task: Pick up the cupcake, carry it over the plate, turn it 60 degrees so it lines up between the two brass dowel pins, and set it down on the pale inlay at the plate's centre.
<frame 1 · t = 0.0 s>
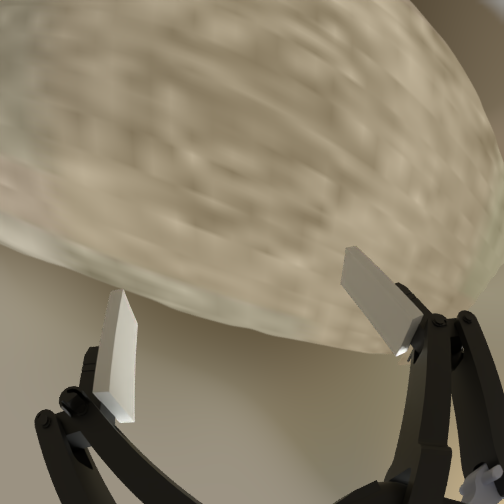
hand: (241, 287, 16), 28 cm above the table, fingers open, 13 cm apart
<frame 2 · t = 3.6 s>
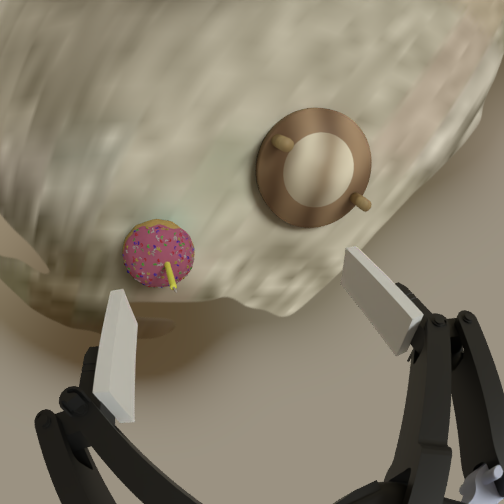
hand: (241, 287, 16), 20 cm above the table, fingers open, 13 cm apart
plate: (315, 167, 35), on the table
cupcake: (160, 236, 35), on the table
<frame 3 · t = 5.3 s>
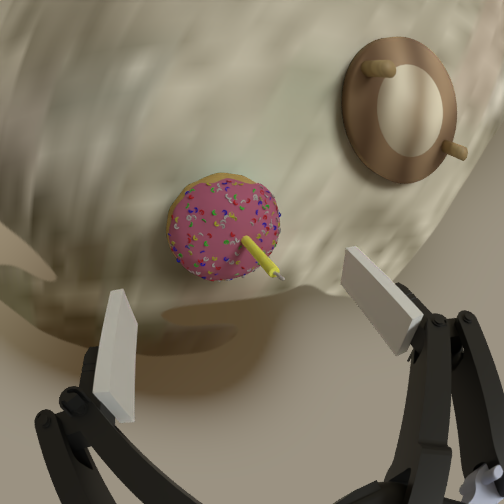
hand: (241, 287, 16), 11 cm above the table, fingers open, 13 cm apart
plate: (404, 109, 23), on the table
cupcake: (216, 207, 25), on the table
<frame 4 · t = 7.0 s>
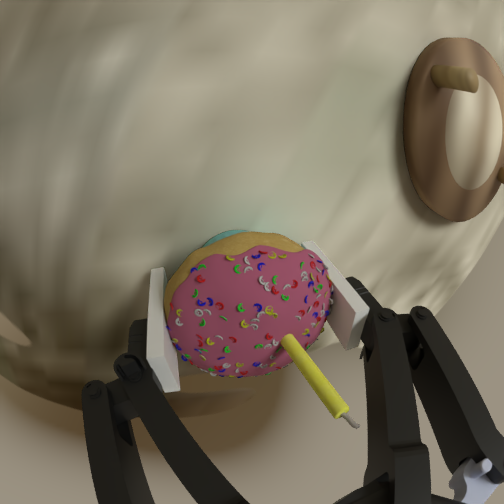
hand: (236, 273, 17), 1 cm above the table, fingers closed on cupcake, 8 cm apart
plate: (465, 128, 17), on the table
cupcake: (232, 264, 18), on the table, touching gripper
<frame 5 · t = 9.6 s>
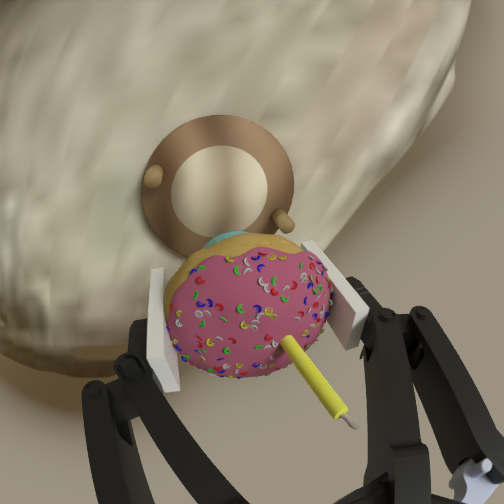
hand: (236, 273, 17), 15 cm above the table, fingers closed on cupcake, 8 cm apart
plate: (218, 189, 30), on the table
cupcake: (232, 265, 18), point 14 cm above the table, touching gripper
when the fingers open (4 cm above the table, at t = 12.4 s): cupcake drops 1 cm, resting on plate.
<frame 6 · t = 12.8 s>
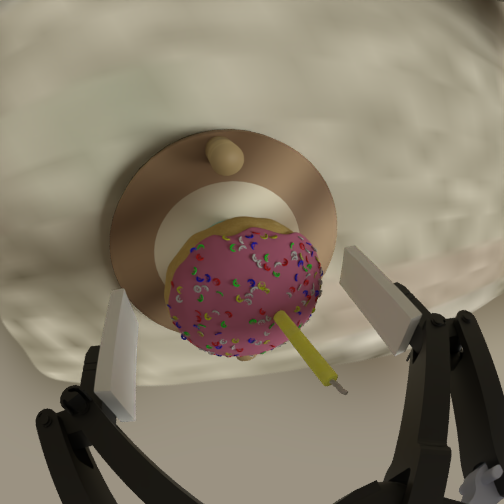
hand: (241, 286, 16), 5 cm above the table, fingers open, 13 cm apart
plate: (225, 243, 20), on the table
cupcake: (229, 252, 19), point 1 cm above the table, touching plate
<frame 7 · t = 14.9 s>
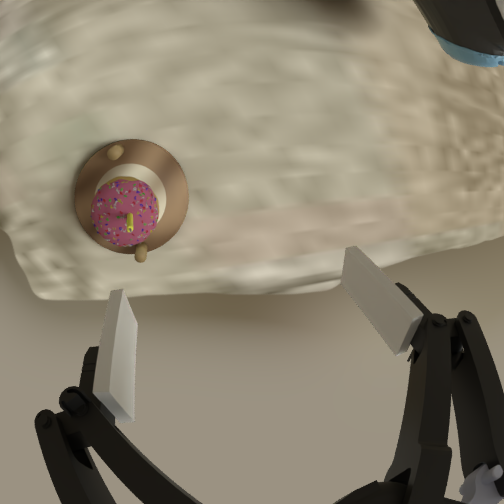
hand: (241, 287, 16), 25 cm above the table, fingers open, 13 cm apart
plate: (130, 197, 36), on the table
cupcake: (129, 199, 34), point 1 cm above the table, touching plate
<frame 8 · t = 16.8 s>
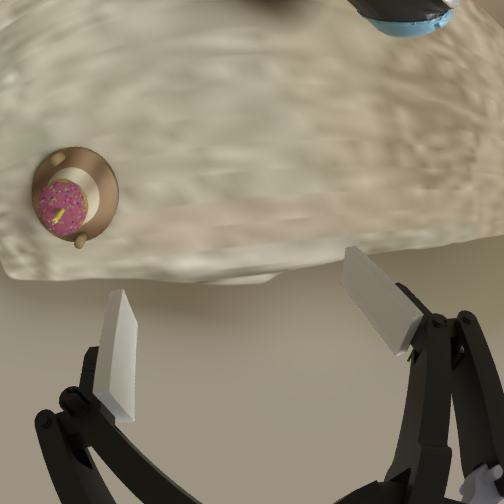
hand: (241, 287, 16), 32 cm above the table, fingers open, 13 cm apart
plate: (74, 194, 39), on the table
cupcake: (72, 196, 38), point 1 cm above the table, touching plate
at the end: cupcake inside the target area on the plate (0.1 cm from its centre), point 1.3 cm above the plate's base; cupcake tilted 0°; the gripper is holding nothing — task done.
